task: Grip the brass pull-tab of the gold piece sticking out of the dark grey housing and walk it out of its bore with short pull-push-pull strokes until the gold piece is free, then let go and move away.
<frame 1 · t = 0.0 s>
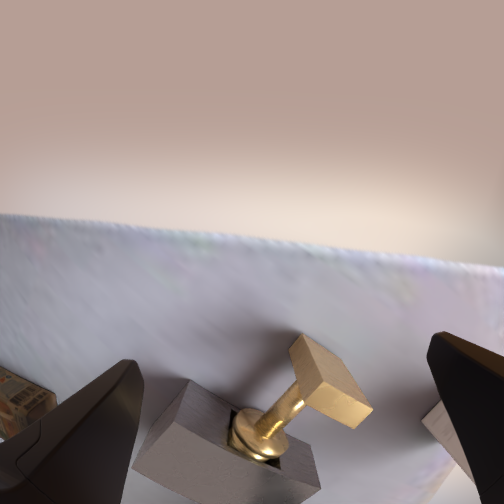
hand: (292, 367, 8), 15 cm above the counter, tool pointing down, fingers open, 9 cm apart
housing: (230, 441, 25), on the counter
skincare box: (452, 411, 25), on the counter
gold piece: (271, 432, 20), point 4 cm above the counter, slide at 0.0 cm
beverage carton: (10, 389, 25), on the counter
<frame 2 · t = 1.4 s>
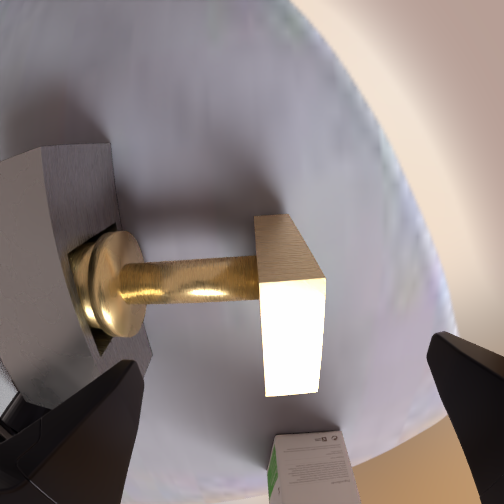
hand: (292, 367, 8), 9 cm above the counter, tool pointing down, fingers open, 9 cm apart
housing: (75, 265, 17), on the counter
skincare box: (303, 451, 24), on the counter
gold piece: (136, 294, 12), point 4 cm above the counter, slide at 0.0 cm
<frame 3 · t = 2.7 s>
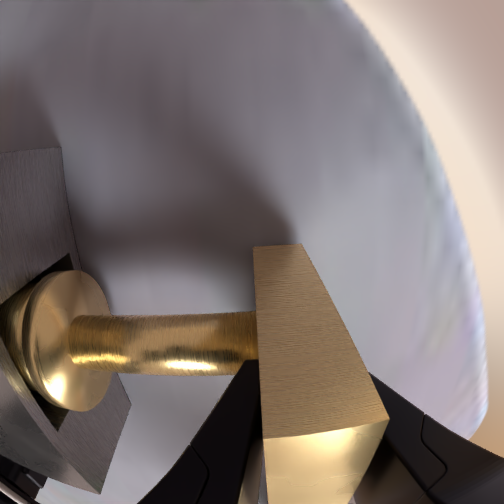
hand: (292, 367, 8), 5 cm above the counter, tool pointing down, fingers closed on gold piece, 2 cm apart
housing: (33, 300, 12), on the counter
gold piece: (90, 364, 8), point 4 cm above the counter, slide at 0.0 cm, touching gripper
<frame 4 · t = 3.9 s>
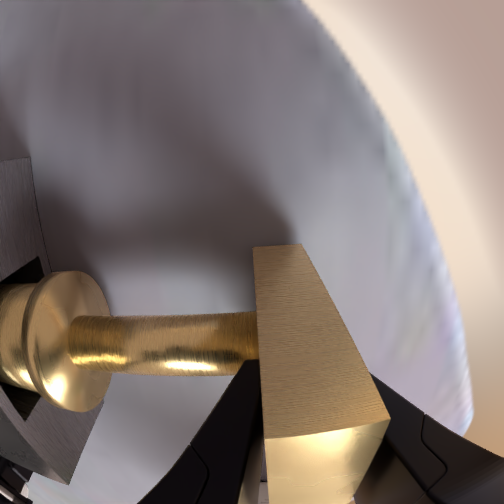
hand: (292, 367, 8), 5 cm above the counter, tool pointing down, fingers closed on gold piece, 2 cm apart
housing: (11, 300, 12), on the counter
skincare box: (286, 494, 19), on the counter
gold piece: (89, 364, 8), point 4 cm above the counter, slide at 1.9 cm, touching gripper
ramekin: (6, 470, 24), on the counter
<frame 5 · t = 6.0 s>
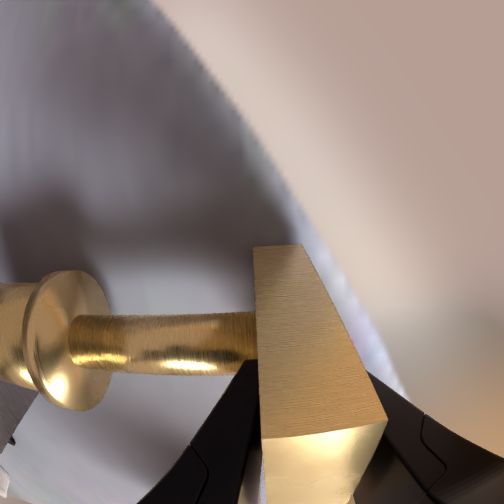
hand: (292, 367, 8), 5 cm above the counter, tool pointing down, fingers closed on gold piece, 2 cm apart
gold piece: (90, 363, 8), point 4 cm above the counter, slide at 7.4 cm, touching gripper
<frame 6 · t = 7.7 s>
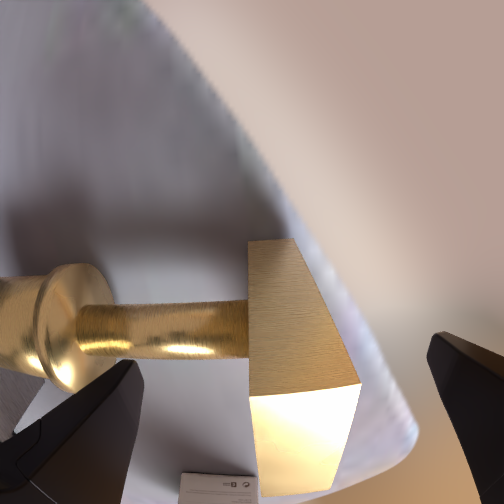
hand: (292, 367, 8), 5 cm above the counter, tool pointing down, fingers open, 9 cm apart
skincare box: (223, 489, 20), on the counter
gold piece: (96, 349, 9), point 4 cm above the counter, slide at 7.4 cm
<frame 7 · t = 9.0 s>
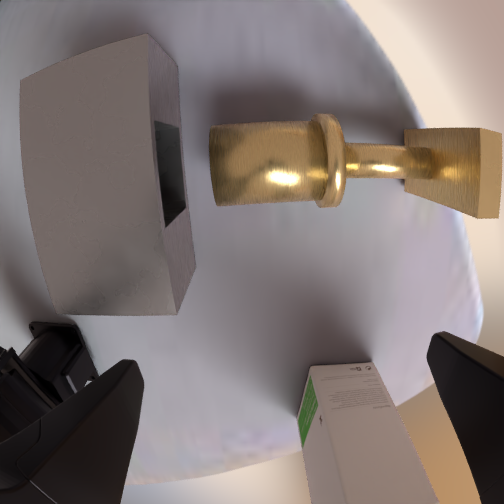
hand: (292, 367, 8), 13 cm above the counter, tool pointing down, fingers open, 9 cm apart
housing: (128, 174, 18), on the counter
skincare box: (334, 392, 25), on the counter
gold piece: (354, 161, 14), point 4 cm above the counter, slide at 7.4 cm
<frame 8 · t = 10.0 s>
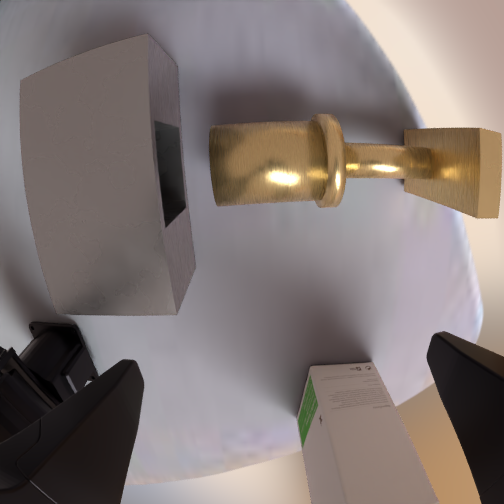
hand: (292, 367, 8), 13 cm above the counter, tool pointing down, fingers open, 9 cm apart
housing: (128, 174, 18), on the counter
skincare box: (334, 392, 26), on the counter
gold piece: (354, 161, 14), point 4 cm above the counter, slide at 7.4 cm
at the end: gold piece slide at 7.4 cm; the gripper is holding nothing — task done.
